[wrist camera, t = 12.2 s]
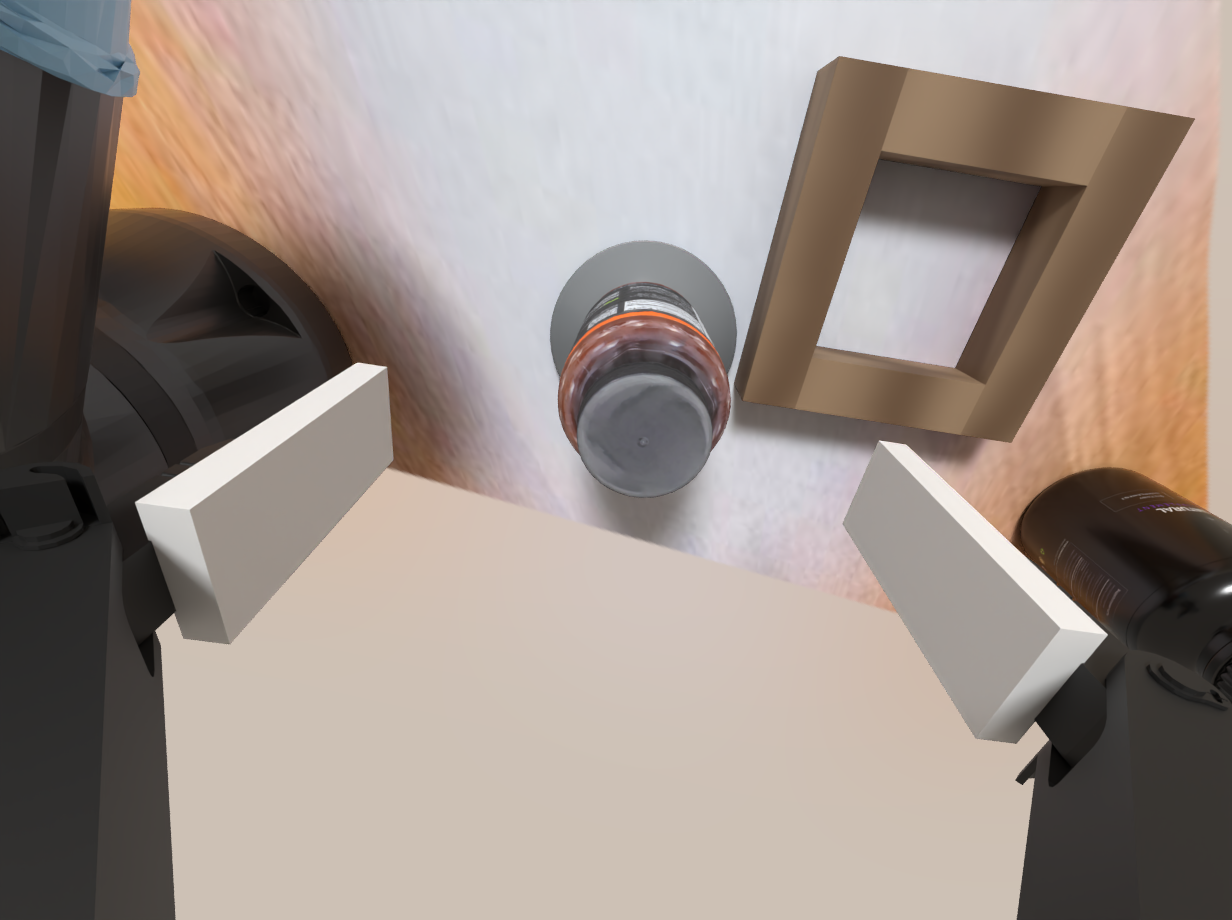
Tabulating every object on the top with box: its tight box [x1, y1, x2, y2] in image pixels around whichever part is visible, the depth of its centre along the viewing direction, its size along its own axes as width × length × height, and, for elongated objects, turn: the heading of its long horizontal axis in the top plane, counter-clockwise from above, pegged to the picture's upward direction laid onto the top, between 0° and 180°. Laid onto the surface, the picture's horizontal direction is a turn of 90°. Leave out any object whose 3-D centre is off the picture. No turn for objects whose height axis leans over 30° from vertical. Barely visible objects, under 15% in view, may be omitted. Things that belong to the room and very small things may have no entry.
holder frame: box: [734, 56, 1195, 443], centre depth 22 cm, size 13×13×2 cm
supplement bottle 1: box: [558, 282, 731, 498], centre depth 20 cm, size 6×6×11 cm
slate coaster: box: [550, 241, 737, 377], centre depth 25 cm, size 9×9×1 cm
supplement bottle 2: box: [1020, 467, 1232, 704], centre depth 23 cm, size 7×7×12 cm
